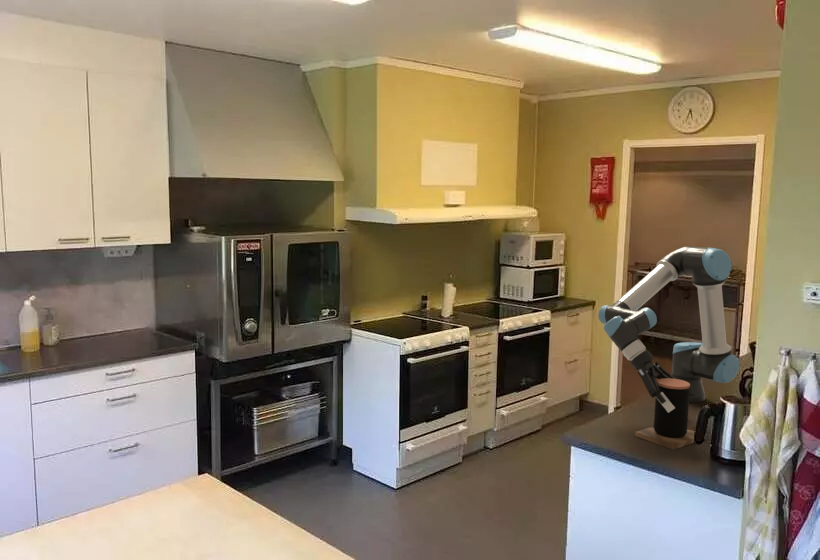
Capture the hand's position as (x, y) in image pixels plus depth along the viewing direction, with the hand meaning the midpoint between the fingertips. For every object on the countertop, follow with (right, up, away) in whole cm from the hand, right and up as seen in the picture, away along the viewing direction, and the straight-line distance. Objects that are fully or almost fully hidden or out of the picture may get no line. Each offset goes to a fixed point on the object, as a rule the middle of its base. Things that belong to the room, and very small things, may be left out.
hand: (678, 406), depth 228 cm
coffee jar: (-2, -10, +3) cm, 11 cm away
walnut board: (-2, -11, +3) cm, 12 cm away
